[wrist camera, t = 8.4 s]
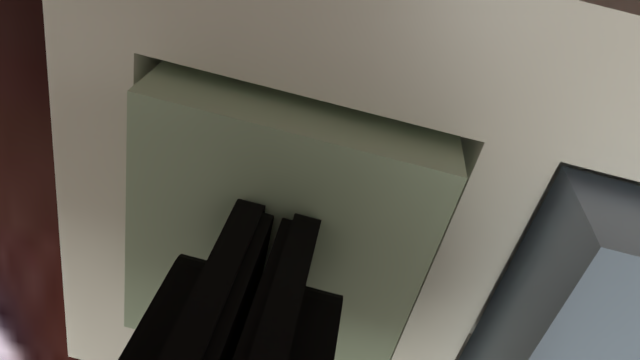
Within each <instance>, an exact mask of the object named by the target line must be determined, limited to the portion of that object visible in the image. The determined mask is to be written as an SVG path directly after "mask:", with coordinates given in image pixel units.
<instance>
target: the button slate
mask: <svg viewBox="0 0 640 360" xmlns="http://www.w3.org/2000/svg"><path fill="white" fill-rule="evenodd" d="M458 360H640V186H638V185H635V184H631V183H627V182H623V181H619V180H615V179H611V178H607V177H603V176H599V175H595V174H592V173H588V172H584V171H580V170H576V169H572V168H568V167H564V166H562V167H561V169H560V171H559V173H558V175H557V177H556V178H555V180H554V182H553V184H552V186H551V188H550V190H549V192H548V193H547V195H546V197H545V199H544V201H543V203H542V205H541V206H540V208H539V210H538V212H537V214H536V216H535V218H534V219H533V221H532V223H531V225H530V227H529V229H528V231H527V233H526V234H525V236H524V238H523V240H522V242H521V244H520V246H519V247H518V249H517V251H516V253H515V255H514V257H513V259H512V261H511V262H510V264H509V266H508V268H507V270H506V272H505V274H504V275H503V277H502V279H501V281H500V283H499V285H498V287H497V289H496V290H495V292H494V294H493V296H492V298H491V300H490V302H489V303H488V305H487V307H486V309H485V311H484V313H483V315H482V316H481V318H480V320H479V322H478V324H477V326H476V328H475V330H474V331H473V333H472V335H471V337H470V339H469V341H468V343H467V344H466V346H465V348H464V350H463V352H462V354H461V356H460V358H459V359H458Z"/></svg>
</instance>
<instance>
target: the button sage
mask: <svg viewBox="0 0 640 360" xmlns="http://www.w3.org/2000/svg"><path fill="white" fill-rule="evenodd" d="M466 181H467V172H466V166H465V160H464V155H463V149H462V143H461V137H460V136H457V135H453V134H449V133H446V132H442V131H438V130H434V129H430V128H426V127H422V126H418V125H414V124H410V123H406V122H402V121H399V120H395V119H391V118H387V117H383V116H379V115H375V114H371V113H367V112H363V111H359V110H356V109H352V108H348V107H344V106H340V105H336V104H332V103H328V102H324V101H320V100H316V99H313V98H309V97H305V96H301V95H297V94H293V93H289V92H285V91H281V90H277V89H273V88H269V87H266V86H262V85H258V84H254V83H250V82H246V81H242V80H238V79H234V78H230V77H226V76H223V75H219V74H215V73H211V72H207V71H203V70H199V69H195V68H191V67H187V66H183V65H179V64H176V63H172V62H168V61H164V60H163V61H162V62H161V63H160V64H158V65H157V66H156V67H155V68H154V69H152V70H151V71H150V72H149V73H148V74H147V75H145V76H144V77H143V78H142V79H141V80H139V81H138V82H137V83H136V84H135V85H134V86H132V87H131V88H130V89H129V90H128V91H127V141H126V217H125V292H124V327H128V328H132V329H136V328H137V326H138V324H139V322H140V321H141V319H142V317H143V315H144V314H145V312H146V310H147V308H148V307H149V305H150V303H151V301H152V300H153V298H154V296H155V294H156V293H157V291H158V289H159V288H160V286H161V284H162V282H163V281H164V279H165V277H166V275H167V274H168V272H169V270H170V268H171V267H172V265H173V263H174V261H175V260H176V259H177V257H178V256H179V255H180V254H185V255H188V256H192V257H196V258H200V259H204V260H207V259H208V257H209V255H210V253H211V251H212V249H213V247H214V245H215V243H216V241H217V239H218V237H219V235H220V233H221V231H222V229H223V227H224V225H225V223H226V221H227V219H228V217H229V215H230V213H231V211H232V209H233V207H234V205H235V203H236V201H237V199H242V200H246V201H250V202H254V203H258V204H262V205H265V206H266V207H265V213H267V214H271V215H274V220H273V225H272V230H271V235H270V240H269V245H268V250H267V255H266V260H265V265H266V262H267V260H268V257H269V254H270V251H271V248H272V245H273V242H274V240H275V237H276V234H277V231H278V228H279V225H280V222H281V220H282V218H286V219H290V220H293V217H294V214H295V213H297V214H301V215H304V216H308V217H312V218H316V219H320V220H321V225H320V229H319V233H318V237H317V241H316V245H315V249H314V254H313V258H312V262H311V266H310V270H309V274H308V278H307V283H306V286H308V287H312V288H316V289H319V290H323V291H327V292H331V293H335V294H339V295H343V305H342V312H341V318H340V325H339V332H338V338H337V345H336V352H335V358H334V360H390V358H391V356H392V353H393V351H394V349H395V346H396V344H397V342H398V339H399V337H400V335H401V332H402V330H403V328H404V325H405V323H406V321H407V318H408V316H409V314H410V311H411V309H412V307H413V304H414V302H415V300H416V297H417V295H418V293H419V290H420V288H421V286H422V283H423V281H424V279H425V276H426V274H427V272H428V269H429V267H430V265H431V262H432V260H433V258H434V255H435V253H436V251H437V248H438V246H439V244H440V241H441V239H442V237H443V234H444V232H445V230H446V227H447V225H448V223H449V220H450V218H451V216H452V213H453V211H454V209H455V206H456V204H457V202H458V199H459V197H460V195H461V192H462V190H463V188H464V185H465V183H466ZM265 265H264V268H265ZM263 271H264V269H263Z"/></svg>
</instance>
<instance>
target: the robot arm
mask: <svg viewBox="0 0 640 360" xmlns="http://www.w3.org/2000/svg"><path fill="white" fill-rule="evenodd" d="M265 207H266V206H265V205H262V204H258V203H254V202H250V201H246V200H242V199H237V201H236V203H235V205H234V207H233V209H232V211H231V213H230V215H229V217H228V219H227V221H226V223H225V225H224V227H223V229H222V231H221V233H220V235H219V237H218V239H217V241H216V243H215V245H214V247H213V249H212V251H211V253H210V255H209V257H208V259H207V260H204V259H200V258H196V257H192V256H188V255H185V254H180V255H179V256H178V257H177V259H176V260H175V261H174V263H173V265H172V267H171V268H170V270H169V272H168V274H167V275H166V277H165V279H164V281H163V282H162V284H161V286H160V288H159V289H158V291H157V293H156V294H155V296H154V298H153V300H152V301H151V303H150V305H149V307H148V308H147V310H146V312H145V314H144V315H143V317H142V319H141V321H140V322H139V324H138V326H137V328H136V329H135V331H134V333H133V334H132V336H131V338H130V340H129V341H128V343H127V345H126V347H125V348H124V350H123V352H122V354H121V355H120V357H119V359H118V360H334V358H335V352H336V345H337V338H338V332H339V325H340V318H341V312H342V305H343V295H339V294H335V293H331V292H327V291H323V290H319V289H316V288H312V287H308V286H306V283H307V278H308V274H309V270H310V266H311V262H312V258H313V254H314V249H315V245H316V241H317V237H318V233H319V229H320V225H321V220H320V219H316V218H312V217H308V216H304V215H301V214H297V213H295V214H294V217H293V220H290V219H286V218H282V220H281V222H280V225H279V228H278V231H277V234H276V237H275V240H274V242H273V245H272V248H271V251H270V254H269V257H268V260H267V262H266V265H265V260H266V255H267V250H268V245H269V240H270V235H271V230H272V225H273V220H274V215H271V214H267V213H265ZM264 265H265V268H264ZM263 269H264V271H263Z"/></svg>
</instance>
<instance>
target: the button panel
mask: <svg viewBox="0 0 640 360" xmlns="http://www.w3.org/2000/svg"><path fill="white" fill-rule="evenodd" d="M42 3H43V16H44V30H45V44H46V58H47V71H48V85H49V99H50V112H51V126H52V140H53V154H54V167H55V181H56V195H57V209H58V222H59V236H60V250H61V264H62V277H63V291H64V305H65V318H66V332H67V346H68V356H69V357H73V358H77V359H80V360H118V359H119V357H120V355H121V354H122V352H123V350H124V348H125V347H126V345H127V343H128V341H129V340H130V338H131V336H132V334H133V333H134V331H135V329H132V328H128V327H124V292H125V217H126V141H127V91H128V90H129V89H130V88H131V87H132V86H134V85H135V84H136V83H137V82H138V81H139V80H141V79H142V78H143V77H144V76H145V75H147V74H148V73H149V72H150V71H151V70H152V69H154V68H155V67H156V66H157V65H158V64H160V63H161V62H162V61H163V60H164V61H168V62H172V63H176V64H179V65H183V66H187V67H191V68H195V69H199V70H203V71H207V72H211V73H215V74H219V75H223V76H226V77H230V78H234V79H238V80H242V81H246V82H250V83H254V84H258V85H262V86H266V87H269V88H273V89H277V90H281V91H285V92H289V93H293V94H297V95H301V96H305V97H309V98H313V99H316V100H320V101H324V102H328V103H332V104H336V105H340V106H344V107H348V108H352V109H356V110H359V111H363V112H367V113H371V114H375V115H379V116H383V117H387V118H391V119H395V120H399V121H402V122H406V123H410V124H414V125H418V126H422V127H426V128H430V129H434V130H438V131H442V132H446V133H449V134H453V135H457V136H460V137H461V143H462V149H463V155H464V160H465V166H466V172H467V181H466V183H465V185H464V188H463V190H462V192H461V195H460V197H459V199H458V202H457V204H456V206H455V209H454V211H453V213H452V216H451V218H450V220H449V223H448V225H447V227H446V230H445V232H444V234H443V237H442V239H441V241H440V244H439V246H438V248H437V251H436V253H435V255H434V258H433V260H432V262H431V265H430V267H429V269H428V272H427V274H426V276H425V279H424V281H423V283H422V286H421V288H420V290H419V293H418V295H417V297H416V300H415V302H414V304H413V307H412V309H411V311H410V314H409V316H408V318H407V321H406V323H405V325H404V328H403V330H402V332H401V335H400V337H399V339H398V342H397V344H396V346H395V349H394V351H393V353H392V356H391V358H390V360H458V359H459V358H460V356H461V354H462V352H463V350H464V348H465V346H466V344H467V343H468V341H469V339H470V337H471V335H472V333H473V331H474V330H475V328H476V326H477V324H478V322H479V320H480V318H481V316H482V315H483V313H484V311H485V309H486V307H487V305H488V303H489V302H490V300H491V298H492V296H493V294H494V292H495V290H496V289H497V287H498V285H499V283H500V281H501V279H502V277H503V275H504V274H505V272H506V270H507V268H508V266H509V264H510V262H511V261H512V259H513V257H514V255H515V253H516V251H517V249H518V247H519V246H520V244H521V242H522V240H523V238H524V236H525V234H526V233H527V231H528V229H529V227H530V225H531V223H532V221H533V219H534V218H535V216H536V214H537V212H538V210H539V208H540V206H541V205H542V203H543V201H544V199H545V197H546V195H547V193H548V192H549V190H550V188H551V186H552V184H553V182H554V180H555V178H556V177H557V175H558V173H559V171H560V169H561V167H562V166H564V167H568V168H572V169H576V170H580V171H584V172H588V173H592V174H595V175H599V176H603V177H607V178H611V179H615V180H619V181H623V182H627V183H631V184H635V185H638V186H640V0H42Z"/></svg>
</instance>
